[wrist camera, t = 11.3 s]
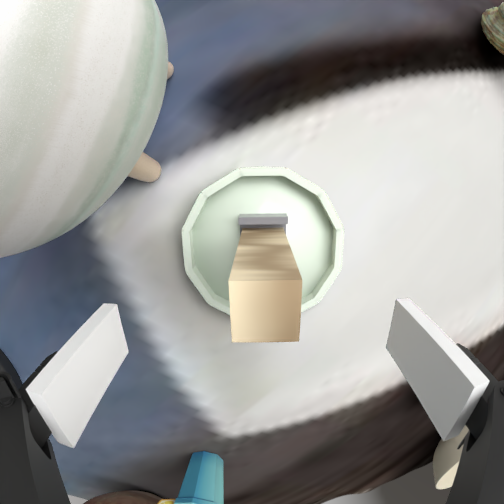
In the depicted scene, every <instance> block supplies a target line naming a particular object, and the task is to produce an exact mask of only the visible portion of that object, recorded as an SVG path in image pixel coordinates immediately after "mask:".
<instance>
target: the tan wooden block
mask: <svg viewBox="0 0 504 504" xmlns="http://www.w3.org/2000/svg"><path fill="white" fill-rule="evenodd" d="M228 283H229V301H230V318H231V334H232V342H295V341H299V333H300V317H301V300H302V277H301V274H300V272H299V269H298V266H297V263H296V261H295V258H294V255H293V253H292V250H291V247H290V245H289V242H288V239H287V237H286V234H285V231H284V229H283V228H242V232H241V236H240V239H239V243H238V247H237V251H236V254H235V258H234V262H233V265H232V269H231V273H230V277H229V281H228Z"/></svg>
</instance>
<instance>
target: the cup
mask: <svg viewBox="0 0 504 504" xmlns="http://www.w3.org/2000/svg"><path fill="white" fill-rule="evenodd" d="M157 504H223V460H222V459H221V458H220V457H219V456H218V455H217V454H213V453H209V452H205V451H201V452H195V453H193V454H192V456H191V459H190V462H189V465H188V468H187V471H186V474H185V477H184V480H183V483H182V486H181V489H180V492H179V495H178V498H176V499H161V500H160V501H159V502H158V503H157Z"/></svg>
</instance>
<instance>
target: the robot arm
mask: <svg viewBox="0 0 504 504" xmlns="http://www.w3.org/2000/svg"><path fill="white" fill-rule="evenodd" d="M386 348H387V350H388V351H389V353H390V354H391V356H392V358H393V359H394V361H395V362H396V364H397V365H398V367H399V368H400V370H401V372H402V373H403V375H404V376H405V378H406V379H407V381H408V383H409V384H410V386H411V387H412V389H413V391H414V392H415V394H416V396H417V397H418V399H419V401H420V402H421V404H422V406H423V407H424V409H425V411H426V412H427V414H428V416H429V417H430V419H431V421H432V422H433V424H434V426H435V428H436V429H437V431H438V433H439V435H440V436H441V438H442V440H443V441H446V440H449V439H451V438H454V437H456V436H458V435H459V434H460V432H461V431H462V429H463V428H464V426H465V425H466V426H467V428H468V429H469V431H468V432H467V434H466V435H465V437H464V438H463V440H462V441H461V443H460V444H459V446H458V448H457V449H460V448H461V446H462V445H463V444H464V445H463V449H462V453H461V457H460V461H459V465H458V468H457V472H456V475H455V478H454V482H453V485H452V488H451V491H450V494H449V496H448V499H447V502H446V504H504V380H503V381H499V382H498V381H497V380H496V378H495V377H494V376H493V375H492V374H491V373H490V372H489V371H488V370H487V369H486V368H485V366H484V365H483V364H482V363H480V361H479V360H478V359H477V358H476V357H474V355H473V354H472V353H471V352H470V351H469V350H468V349H467V348H465V347H464V346H462V345H460V344H455V343H454V342H453V341H452V340H451V339H450V338H449V337H448V336H447V334H446V333H445V332H444V331H443V330H442V329H441V328H440V327H439V326H438V325H437V324H436V323H435V322H434V321H433V320H432V319H431V318H429V317H428V316H427V315H426V314H425V313H424V312H423V311H422V310H421V309H420V308H419V307H418V306H417V305H416V304H415V303H414V302H413V301H412V300H411V299H410V298H403V299H396V302H395V307H394V312H393V317H392V322H391V327H390V331H389V336H388V340H387V344H386ZM128 352H129V351H128V347H127V344H126V340H125V336H124V332H123V328H122V324H121V320H120V315H119V311H118V306H117V304H106V303H104V304H103V305H102V306H101V307H100V308H99V309H98V310H97V311H96V312H95V313H94V314H93V315H92V316H91V317H90V318H89V319H88V320H87V321H86V322H85V323H84V324H83V325H82V326H81V327H80V328H79V330H78V331H77V332H76V333H75V334H74V335H73V336H72V337H71V338H70V339H69V340H68V341H67V342H66V344H65V345H64V346H63V347H62V348H61V349H60V350H59V351H58V352H57V351H56V352H54V353H53V354H51V355H50V356H48V357H47V358H46V359H45V360H44V361H43V362H42V363H41V364H40V366H39V367H38V368H37V369H36V370H35V372H33V373H32V374H31V376H30V377H29V378H28V379H27V380H26V381H25V383H24V384H23V385H22V383H21V380H20V378H19V376H18V374H17V372H16V371H15V369H14V367H13V366H12V364H11V363H10V361H9V360H8V359H7V357H6V356H5V355H4V353H3V352H2V351H1V350H0V504H71V503H70V501H69V498H68V495H67V493H66V490H65V487H64V484H63V481H62V478H61V475H60V472H59V469H58V465H57V462H56V459H55V455H54V451H53V447H52V444H51V442H50V440H49V439H48V438H49V436H50V435H51V433H52V434H53V436H54V437H55V438H56V440H57V441H58V443H61V444H64V445H66V446H69V447H72V448H74V447H75V445H76V443H77V441H78V440H79V438H80V436H81V434H82V432H83V430H84V428H85V427H86V425H87V423H88V421H89V419H90V417H91V416H92V414H93V412H94V410H95V409H96V407H97V405H98V403H99V401H100V400H101V398H102V396H103V394H104V393H105V391H106V389H107V387H108V386H109V384H110V382H111V381H112V379H113V377H114V376H115V374H116V372H117V370H118V369H119V367H120V365H121V364H122V362H123V360H124V359H125V357H126V355H127V354H128Z"/></svg>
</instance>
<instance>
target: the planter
mask: <svg viewBox="0 0 504 504" xmlns="http://www.w3.org/2000/svg"><path fill="white" fill-rule="evenodd" d="M172 74H173V65H172V64H171V63H170V62H168V46H167V38H166V32H165V27H164V24H163V20H162V17H161V14H160V11H159V9H158V6H157V4H156V2H155V0H0V258H1V257H6V256H10V255H14V254H18V253H21V252H24V251H27V250H30V249H33V248H35V247H38V246H40V245H43V244H45V243H47V242H49V241H51V240H53V239H56V238H58V237H59V236H61V235H63V234H65V233H66V232H68V231H70V230H71V229H73V228H74V227H76V226H77V225H79V224H80V223H81V222H83V221H84V220H86V219H87V218H88V217H89V216H90V215H92V214H93V213H94V212H95V211H96V210H98V209H99V208H100V207H101V206H102V205H103V204H104V203H105V202H106V201H107V200H108V199H109V198H110V197H111V196H112V195H113V193H114V192H115V191H116V190H117V189H118V188H119V186H120V185H121V184H122V183H123V181H124V180H125V179H126V177H127V176H129V177H132V178H135V179H137V180H140V181H145V182H154V181H156V180H157V179H158V178H159V176H160V174H161V167H160V164H159V163H158V162H157V161H156V160H154V159H153V158H151V157H150V156H148V155H147V154H145V153H144V152H143V150H144V149H145V147H146V145H147V142H148V140H149V138H150V136H151V134H152V131H153V129H154V127H155V124H156V121H157V118H158V116H159V112H160V109H161V106H162V102H163V97H164V93H165V88H166V82H167V79H168V78H170V77H171V75H172Z"/></svg>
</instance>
